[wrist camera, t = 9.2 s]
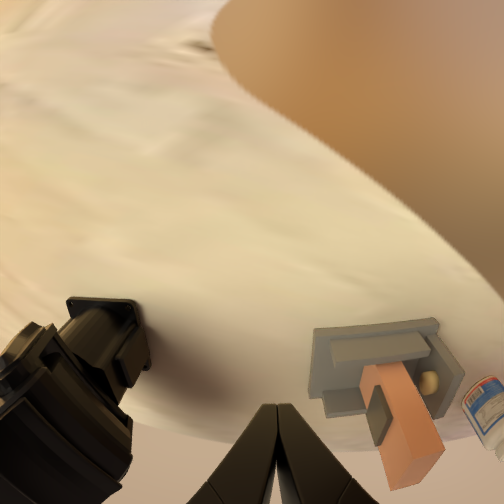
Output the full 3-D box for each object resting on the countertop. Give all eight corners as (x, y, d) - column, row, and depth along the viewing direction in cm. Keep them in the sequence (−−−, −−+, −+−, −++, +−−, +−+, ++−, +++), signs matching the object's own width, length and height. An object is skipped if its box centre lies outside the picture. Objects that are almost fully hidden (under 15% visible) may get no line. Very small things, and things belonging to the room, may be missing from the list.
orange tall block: (354, 386, 21) (384, 492, 12) (362, 348, 20) (406, 461, 10) (381, 383, 21) (419, 482, 11) (392, 344, 20) (445, 449, 10)
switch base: (308, 390, 23) (315, 447, 17) (313, 328, 21) (327, 386, 15) (415, 377, 22) (439, 424, 16) (433, 317, 20) (469, 362, 14)
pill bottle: (491, 396, 24) (525, 448, 14) (457, 415, 24) (487, 474, 15) (500, 366, 22) (541, 422, 13) (464, 387, 23) (502, 451, 14)
